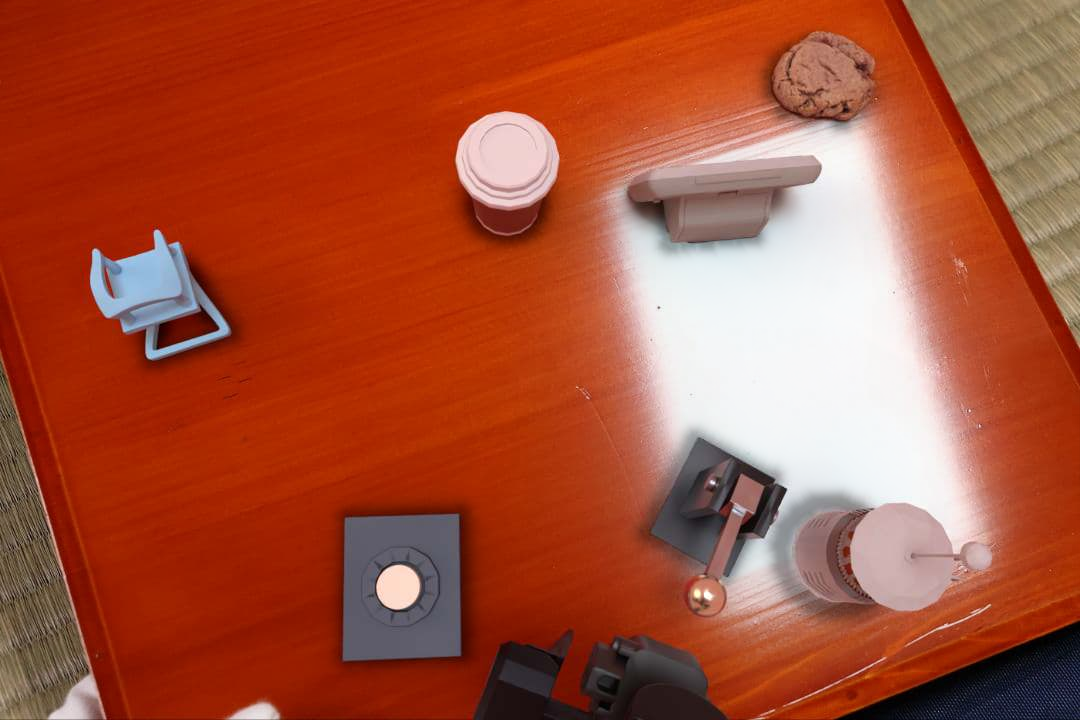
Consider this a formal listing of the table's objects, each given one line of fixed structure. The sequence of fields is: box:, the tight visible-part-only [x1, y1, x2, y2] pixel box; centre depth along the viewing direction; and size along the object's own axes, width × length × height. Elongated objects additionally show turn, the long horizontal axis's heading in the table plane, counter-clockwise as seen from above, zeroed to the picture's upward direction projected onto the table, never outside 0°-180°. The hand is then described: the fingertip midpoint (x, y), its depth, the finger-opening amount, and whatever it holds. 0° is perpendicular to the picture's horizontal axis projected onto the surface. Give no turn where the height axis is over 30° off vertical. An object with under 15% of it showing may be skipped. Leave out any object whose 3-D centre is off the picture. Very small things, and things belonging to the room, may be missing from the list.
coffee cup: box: [454, 110, 561, 237], centre depth 79 cm, size 9×9×12 cm
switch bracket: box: [648, 436, 788, 578], centre depth 74 cm, size 10×8×12 cm
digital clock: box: [627, 154, 823, 244], centre depth 81 cm, size 16×9×11 cm, turn 85°
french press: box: [791, 502, 994, 612], centre depth 67 cm, size 10×12×25 cm
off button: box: [376, 565, 422, 610], centre depth 73 cm, size 4×4×2 cm
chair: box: [89, 229, 232, 361], centre depth 76 cm, size 8×8×12 cm
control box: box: [342, 513, 463, 662], centre depth 75 cm, size 12×10×4 cm
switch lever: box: [683, 474, 764, 619], centre depth 67 cm, size 12×3×3 cm, turn 151°
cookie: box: [770, 30, 876, 121], centre depth 89 cm, size 10×11×3 cm
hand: (629, 656), depth 62 cm, fingers open, 9 cm apart
